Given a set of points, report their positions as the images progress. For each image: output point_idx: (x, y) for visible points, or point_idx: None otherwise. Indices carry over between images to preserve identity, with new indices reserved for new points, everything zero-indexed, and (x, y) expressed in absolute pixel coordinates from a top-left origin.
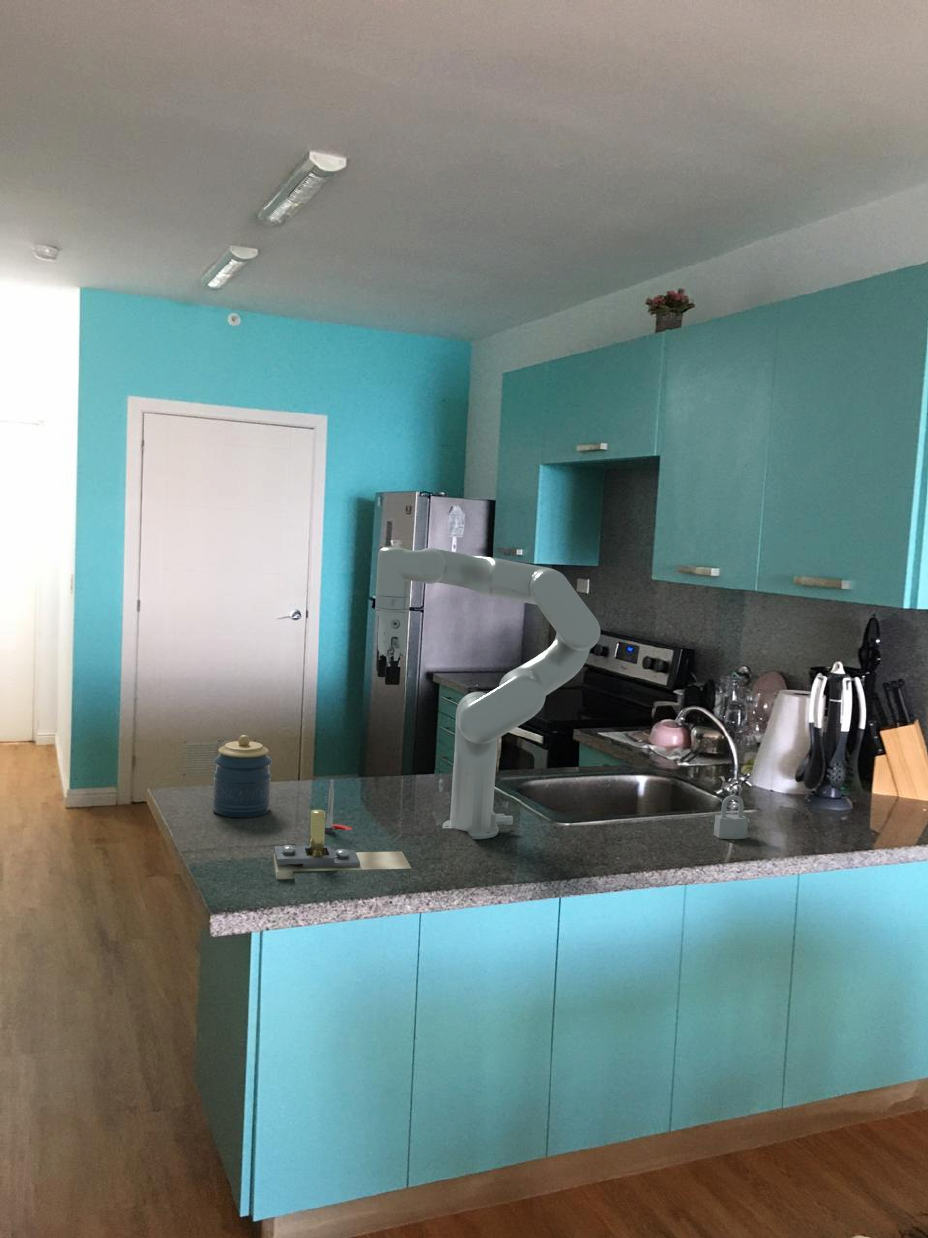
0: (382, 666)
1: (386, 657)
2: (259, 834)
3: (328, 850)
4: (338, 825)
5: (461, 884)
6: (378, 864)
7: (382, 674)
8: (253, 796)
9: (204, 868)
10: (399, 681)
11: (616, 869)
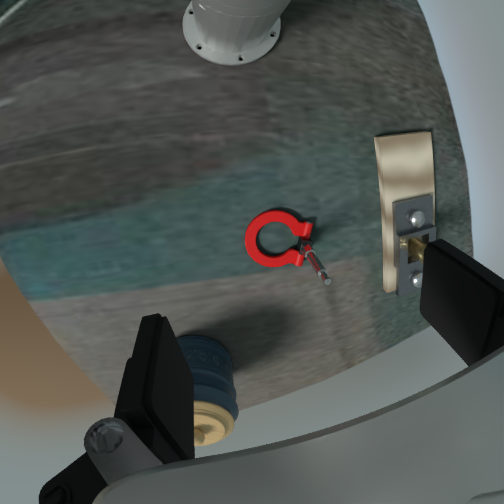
0: (183, 413)
1: (162, 458)
2: (291, 324)
3: (415, 236)
4: (251, 235)
5: (440, 78)
6: (421, 171)
7: (184, 370)
8: (226, 365)
9: (393, 338)
10: (448, 245)
11: None
